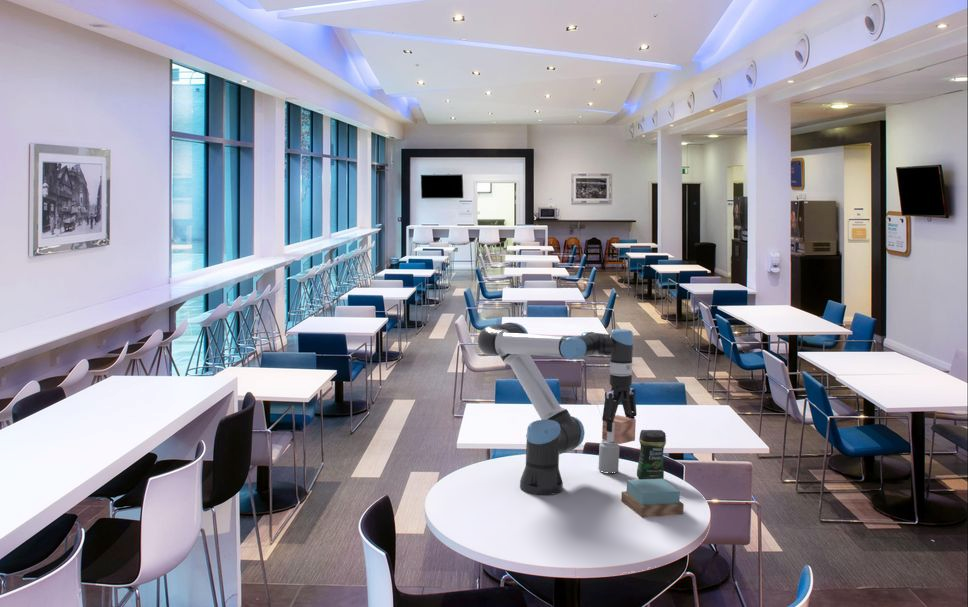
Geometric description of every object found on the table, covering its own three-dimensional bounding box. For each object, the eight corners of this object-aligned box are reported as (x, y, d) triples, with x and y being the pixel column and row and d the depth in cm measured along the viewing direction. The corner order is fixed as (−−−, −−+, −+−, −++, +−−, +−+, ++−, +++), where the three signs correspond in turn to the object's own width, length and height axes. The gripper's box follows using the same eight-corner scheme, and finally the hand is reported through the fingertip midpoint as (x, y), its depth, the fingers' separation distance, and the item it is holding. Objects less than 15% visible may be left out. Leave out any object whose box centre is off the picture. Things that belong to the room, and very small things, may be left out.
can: (617, 475, 294) (619, 444, 293) (597, 473, 296) (599, 442, 295) (618, 469, 302) (620, 439, 300) (598, 467, 303) (600, 437, 302)
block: (619, 444, 267) (620, 422, 266) (602, 439, 273) (602, 418, 272) (634, 440, 272) (635, 419, 271) (617, 435, 278) (617, 414, 277)
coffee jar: (641, 482, 287) (644, 433, 285) (634, 475, 295) (636, 427, 293) (666, 482, 288) (669, 432, 286) (658, 475, 296) (661, 427, 294)
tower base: (641, 519, 252) (642, 507, 252) (621, 503, 267) (621, 491, 266) (683, 515, 256) (683, 504, 256) (660, 500, 271) (661, 488, 270)
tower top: (642, 504, 254) (643, 493, 253) (626, 491, 266) (627, 480, 266) (679, 503, 257) (680, 491, 256) (662, 489, 269) (662, 478, 269)
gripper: (609, 379, 261) (607, 446, 263) (648, 372, 274) (646, 436, 276) (592, 375, 266) (590, 441, 268) (631, 369, 280) (629, 432, 282)
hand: (618, 438), depth 272 cm, fingers closed on block, 8 cm apart
